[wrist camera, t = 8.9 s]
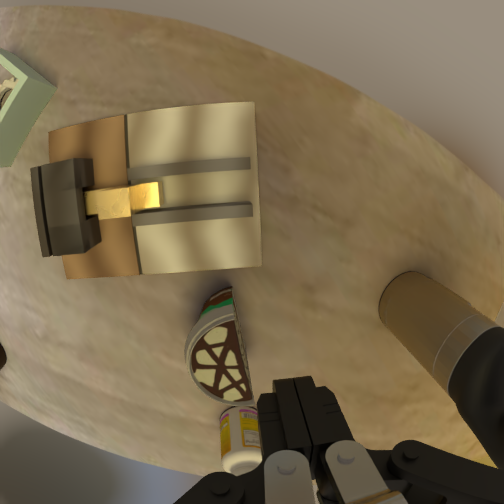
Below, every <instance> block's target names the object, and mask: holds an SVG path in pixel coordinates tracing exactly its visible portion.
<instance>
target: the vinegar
mask: <svg viewBox="0 0 504 504" xmlns="http://www.w3.org/2000/svg"><path fill="white" fill-rule="evenodd" d="M5 363H6V355H5V352H4V350H3V347H2V346H1V344H0V370H1V369H2V367H3V366H4V365H5Z"/></svg>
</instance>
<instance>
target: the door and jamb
mask: <svg viewBox="0 0 504 504" xmlns="http://www.w3.org/2000/svg"><path fill="white" fill-rule="evenodd" d="M49 159H50V164H46V165H42V166H38V167H34V168H31V181H32V192H33V201H34V209H35V216H36V223H37V229H38V235H39V241H40V246H41V251H42V256H43V257H50V256H51V255H53V256H61V255H62V259H63V264H64V269H65V273H66V278H67V279H80V278H97V277H114V276H130V275H140V274H143V275H145V274H160V273H175V272H189V271H203V270H216V269H230V268H243V267H256V266H262V250H261V227H260V206H259V184H258V164H257V144H256V125H255V107H254V102H233V103H216V104H203V105H192V106H182V107H173V108H165V109H157V110H150V111H144V112H137V113H131V114H127V115H120V116H115V117H109V118H104V119H100V120H95V121H90V122H86V123H82V124H78V125H73V126H69V127H66V128H62V129H58V130H54V131H51V132H49ZM157 181H162V185H163V197H164V204H163V205H161V206H160V207H150V208H144V209H142V210H141V211H139V212H137V213H136V214H134V215H132V216H129V217H120V218H111V219H102V220H99V216H98V214H90V215H85V208H84V200H83V191H90V190H96V189H103V188H110V187H117V186H124V185H132V184H140V183H148V182H157Z"/></svg>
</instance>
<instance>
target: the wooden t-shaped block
mask: <svg viewBox="0 0 504 504" xmlns="http://www.w3.org/2000/svg"><path fill="white" fill-rule="evenodd" d="M83 200H84V208H85V215H90V214H98V216H99V220H102V219H111V218H120V217H129V216H132V215H134V214H136V213H137V212H139V211H141V210H142V209H144V208H150V207H160V206H161V205H163V204H164V197H163V185H162V181H157V182H148V183H140V184H132V185H124V186H117V187H110V188H103V189H96V190H90V191H83Z"/></svg>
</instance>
